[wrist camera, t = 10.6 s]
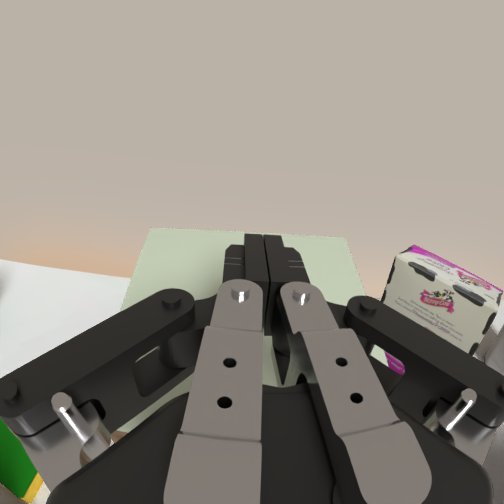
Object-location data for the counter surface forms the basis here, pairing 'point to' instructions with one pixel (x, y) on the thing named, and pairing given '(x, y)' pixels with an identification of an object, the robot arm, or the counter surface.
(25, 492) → the dish sponge
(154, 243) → the lid
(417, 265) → the candy bar box
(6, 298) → the counter surface
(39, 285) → the counter surface
